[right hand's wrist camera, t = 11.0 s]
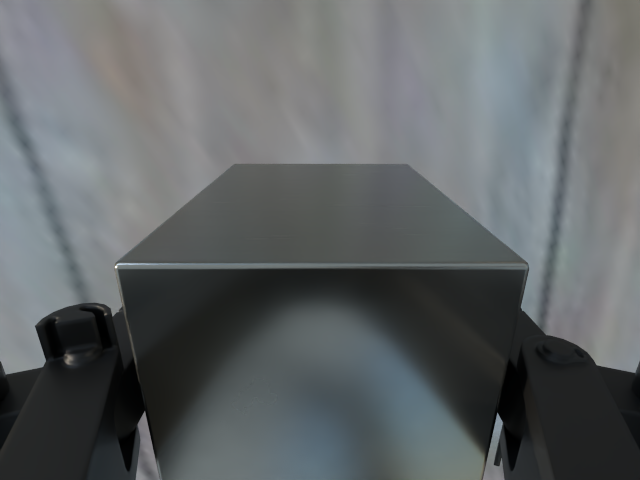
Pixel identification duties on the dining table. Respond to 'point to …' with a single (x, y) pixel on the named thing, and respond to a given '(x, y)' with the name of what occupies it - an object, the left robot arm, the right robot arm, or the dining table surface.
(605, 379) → the right robot arm
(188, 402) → the box
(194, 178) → the dining table surface
